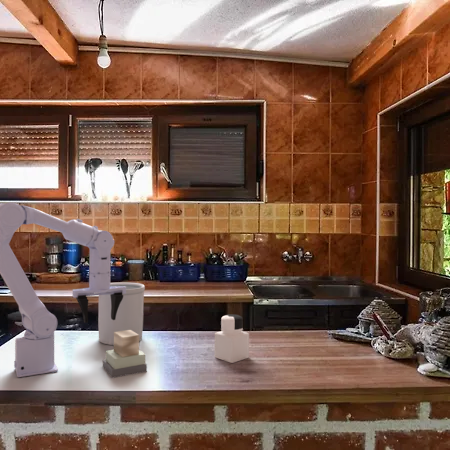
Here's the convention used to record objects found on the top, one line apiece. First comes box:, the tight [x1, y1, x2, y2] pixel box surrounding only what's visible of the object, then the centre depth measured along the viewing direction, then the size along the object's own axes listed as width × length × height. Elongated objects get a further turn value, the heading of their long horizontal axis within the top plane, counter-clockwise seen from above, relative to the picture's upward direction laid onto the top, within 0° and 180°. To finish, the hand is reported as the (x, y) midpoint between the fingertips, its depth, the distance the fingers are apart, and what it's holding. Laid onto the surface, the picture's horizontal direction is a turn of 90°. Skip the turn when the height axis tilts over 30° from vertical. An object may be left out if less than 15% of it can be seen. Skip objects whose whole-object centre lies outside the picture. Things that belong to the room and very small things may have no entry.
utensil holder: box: [97, 281, 146, 346], centre depth 143 cm, size 15×15×18 cm
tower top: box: [105, 349, 146, 369], centre depth 116 cm, size 8×8×2 cm
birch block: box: [113, 330, 140, 357], centre depth 116 cm, size 4×6×5 cm
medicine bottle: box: [214, 313, 250, 364], centre depth 126 cm, size 7×7×12 cm
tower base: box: [102, 359, 148, 379], centre depth 116 cm, size 9×9×2 cm
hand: (99, 320), depth 125 cm, fingers open, 7 cm apart
